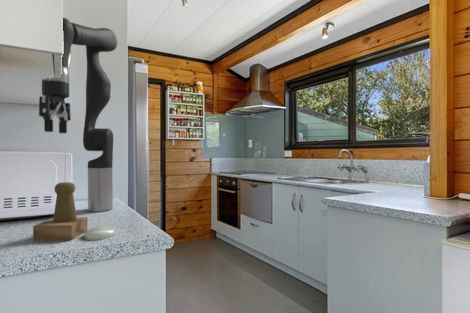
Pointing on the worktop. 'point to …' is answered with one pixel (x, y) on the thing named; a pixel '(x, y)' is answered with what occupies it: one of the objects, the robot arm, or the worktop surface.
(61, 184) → the olive stamp handle
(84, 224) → the walnut plinth
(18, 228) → the worktop surface
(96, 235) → the white domed disc
